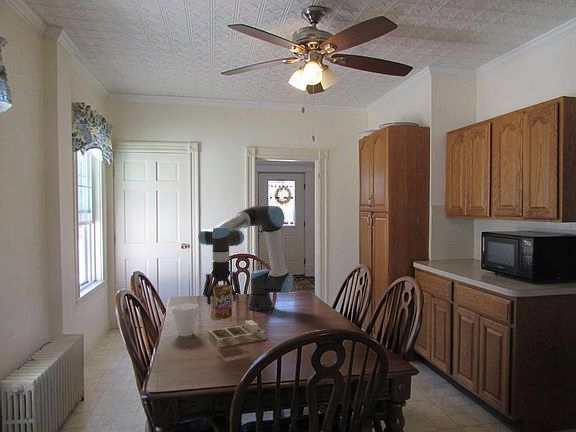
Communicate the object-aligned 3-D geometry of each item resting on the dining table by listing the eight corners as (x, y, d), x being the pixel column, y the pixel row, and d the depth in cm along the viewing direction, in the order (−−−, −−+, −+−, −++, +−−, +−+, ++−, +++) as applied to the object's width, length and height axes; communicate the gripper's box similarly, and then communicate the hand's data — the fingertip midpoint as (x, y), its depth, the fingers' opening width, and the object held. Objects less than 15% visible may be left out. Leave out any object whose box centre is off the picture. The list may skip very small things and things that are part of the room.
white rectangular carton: (251, 332, 189) (251, 319, 188) (257, 336, 181) (257, 324, 181) (244, 333, 187) (244, 320, 187) (250, 338, 180) (250, 325, 180)
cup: (185, 340, 181) (184, 311, 181) (167, 335, 188) (167, 307, 187) (204, 332, 192) (203, 305, 191) (186, 328, 198) (186, 302, 198)
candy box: (214, 321, 173) (213, 287, 172) (210, 319, 176) (210, 285, 176) (232, 318, 178) (232, 284, 177) (228, 315, 181) (228, 283, 181)
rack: (253, 331, 193) (252, 323, 193) (266, 341, 179) (266, 332, 179) (207, 339, 183) (207, 330, 182) (218, 350, 168) (218, 340, 168)
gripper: (240, 258, 185) (240, 305, 185) (195, 261, 175) (195, 311, 175) (246, 260, 178) (246, 308, 179) (199, 263, 168) (200, 315, 169)
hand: (221, 309), depth 177 cm, fingers closed on candy box, 9 cm apart
